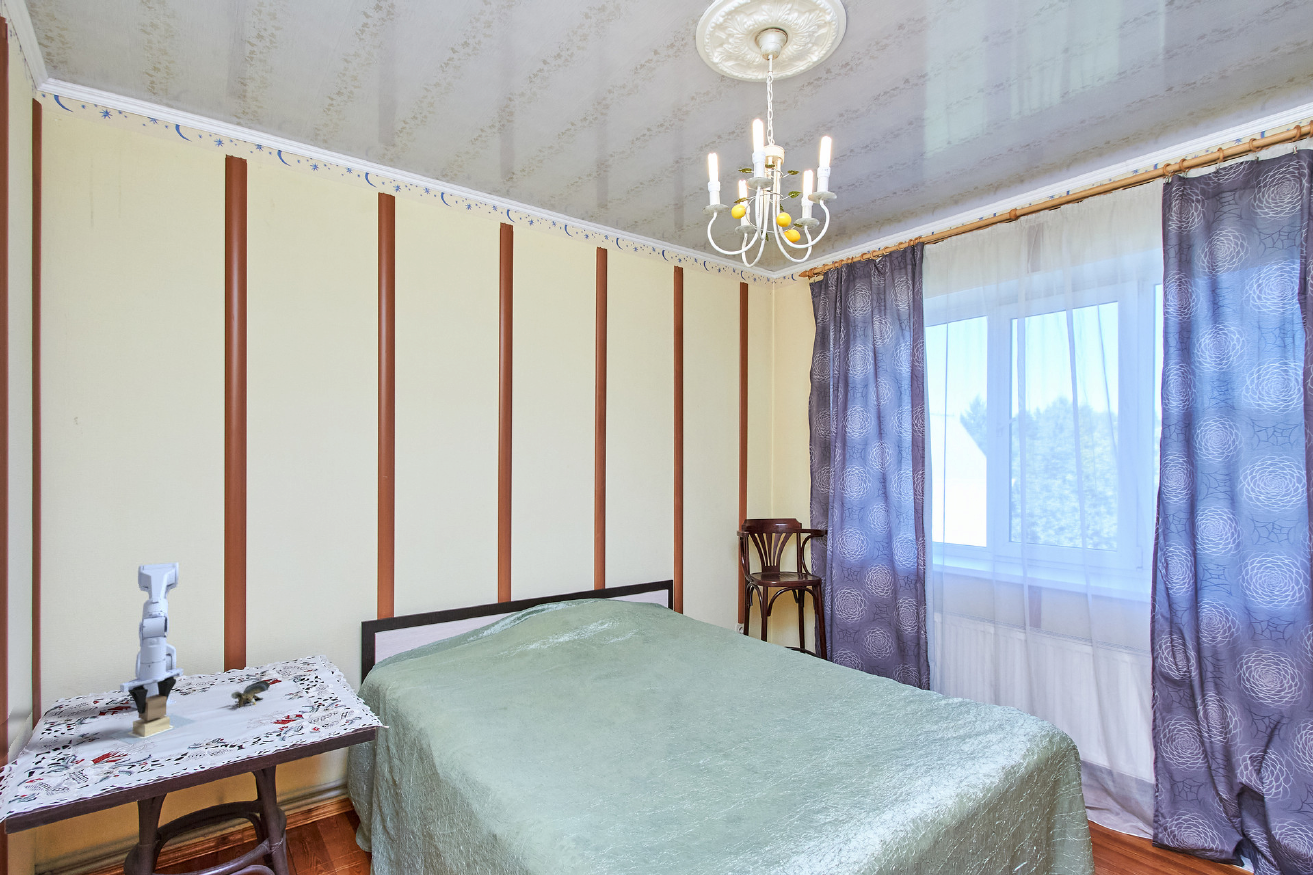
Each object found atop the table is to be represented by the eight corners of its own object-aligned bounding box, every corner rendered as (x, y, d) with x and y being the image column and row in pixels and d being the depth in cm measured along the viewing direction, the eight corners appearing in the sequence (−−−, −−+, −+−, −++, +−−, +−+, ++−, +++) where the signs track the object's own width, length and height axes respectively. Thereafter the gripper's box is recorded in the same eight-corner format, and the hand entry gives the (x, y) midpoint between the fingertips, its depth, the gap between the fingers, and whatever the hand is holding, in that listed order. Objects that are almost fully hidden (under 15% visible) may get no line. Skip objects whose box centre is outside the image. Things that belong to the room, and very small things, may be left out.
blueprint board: (107, 737, 171) (107, 735, 171) (172, 715, 185) (172, 713, 185) (131, 745, 166) (131, 743, 166) (196, 722, 180) (196, 720, 180)
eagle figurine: (255, 706, 190) (275, 689, 198) (241, 687, 189) (262, 672, 198) (237, 717, 191) (258, 701, 200) (223, 699, 190) (245, 683, 199)
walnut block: (138, 717, 173) (139, 699, 173) (157, 711, 177) (157, 694, 177) (147, 720, 171) (148, 702, 171) (166, 714, 175) (166, 696, 176)
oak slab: (132, 732, 173) (132, 721, 173) (157, 724, 178) (157, 713, 178) (144, 736, 170) (145, 725, 170) (169, 727, 176) (169, 717, 176)
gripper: (130, 670, 167) (129, 721, 166) (189, 654, 180) (188, 702, 179) (116, 666, 170) (114, 717, 169) (175, 651, 183) (174, 698, 182)
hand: (151, 709), depth 174 cm, fingers closed on walnut block, 4 cm apart
